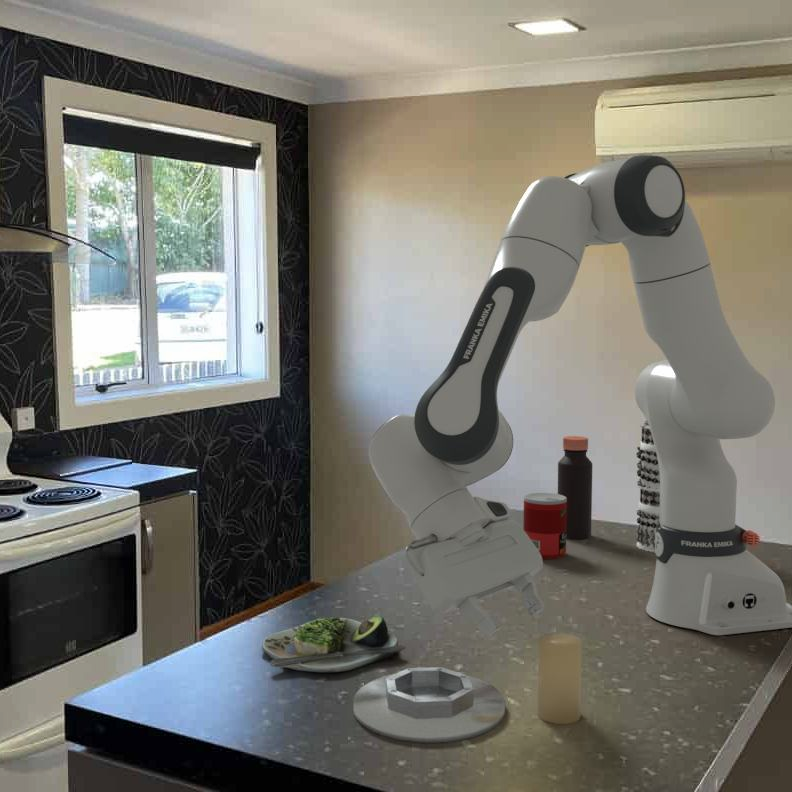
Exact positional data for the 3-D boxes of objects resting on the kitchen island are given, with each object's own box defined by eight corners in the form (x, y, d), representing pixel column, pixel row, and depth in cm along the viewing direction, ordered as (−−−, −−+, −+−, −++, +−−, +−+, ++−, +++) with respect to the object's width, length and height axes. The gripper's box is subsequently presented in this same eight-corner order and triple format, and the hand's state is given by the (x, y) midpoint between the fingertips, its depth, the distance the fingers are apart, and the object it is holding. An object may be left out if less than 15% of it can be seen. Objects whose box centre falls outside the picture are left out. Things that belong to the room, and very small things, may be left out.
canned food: (569, 559, 180) (570, 501, 179) (525, 559, 180) (526, 501, 179) (562, 548, 188) (563, 492, 187) (520, 548, 188) (521, 492, 187)
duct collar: (490, 676, 126) (491, 653, 126) (518, 739, 108) (518, 713, 108) (351, 680, 125) (351, 657, 125) (356, 745, 107) (355, 719, 107)
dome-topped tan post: (574, 705, 117) (575, 632, 116) (585, 723, 112) (586, 647, 111) (533, 706, 117) (534, 633, 116) (542, 724, 112) (543, 649, 111)
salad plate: (309, 696, 121) (309, 660, 121) (229, 657, 134) (228, 624, 134) (421, 655, 134) (421, 623, 134) (337, 623, 147) (337, 593, 147)
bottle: (556, 539, 195) (558, 440, 193) (557, 531, 202) (558, 435, 199) (591, 540, 194) (593, 440, 192) (590, 532, 200) (592, 435, 198)
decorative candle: (624, 547, 189) (627, 418, 186) (651, 538, 195) (654, 414, 193) (666, 556, 182) (669, 423, 180) (692, 547, 189) (696, 418, 186)
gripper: (413, 529, 113) (481, 630, 108) (513, 501, 129) (576, 588, 123) (384, 560, 117) (449, 659, 111) (485, 528, 132) (546, 614, 127)
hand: (517, 621), depth 117 cm, fingers open, 8 cm apart
